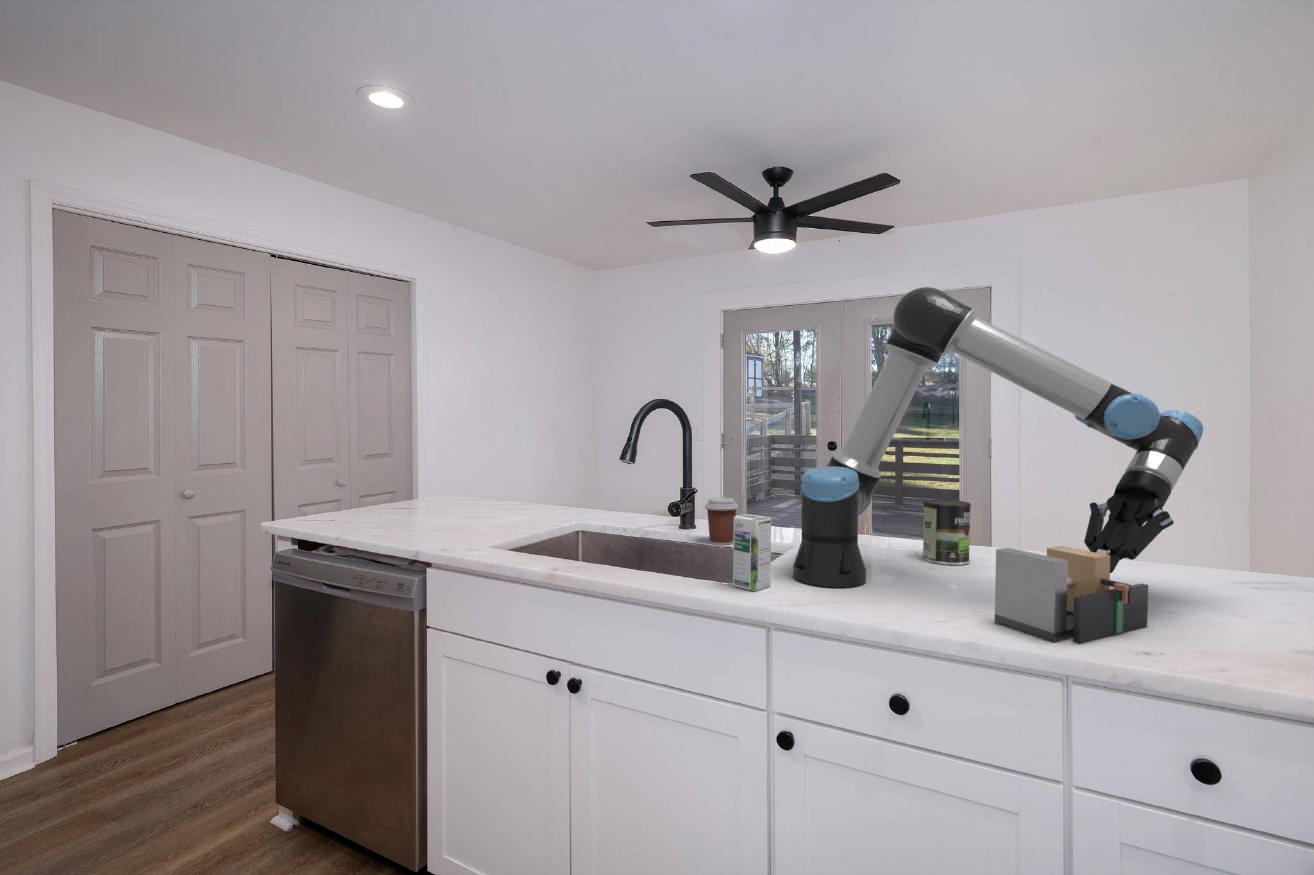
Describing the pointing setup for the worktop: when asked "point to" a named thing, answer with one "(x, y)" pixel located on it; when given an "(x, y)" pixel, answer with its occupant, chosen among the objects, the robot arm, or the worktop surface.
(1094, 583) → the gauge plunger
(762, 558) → the syrup box
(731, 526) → the coffee cup
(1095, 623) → the stand
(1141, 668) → the worktop surface
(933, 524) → the coffee can
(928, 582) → the worktop surface
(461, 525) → the worktop surface
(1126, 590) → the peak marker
